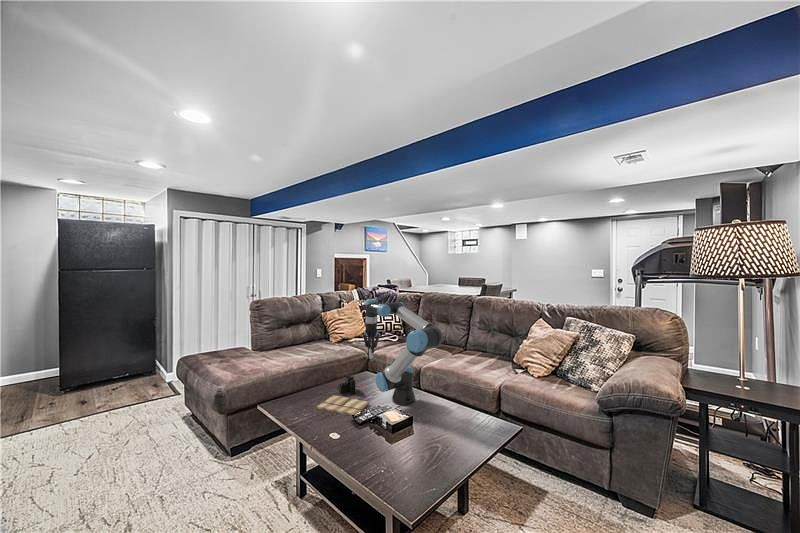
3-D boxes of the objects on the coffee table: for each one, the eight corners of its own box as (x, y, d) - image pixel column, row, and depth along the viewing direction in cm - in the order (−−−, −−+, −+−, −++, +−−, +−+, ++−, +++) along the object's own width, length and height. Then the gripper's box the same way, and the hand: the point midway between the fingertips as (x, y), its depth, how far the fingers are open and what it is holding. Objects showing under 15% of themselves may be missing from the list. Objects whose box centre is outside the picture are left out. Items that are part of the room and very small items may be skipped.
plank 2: (369, 403, 211) (369, 401, 211) (361, 411, 202) (361, 409, 202) (351, 400, 216) (351, 398, 216) (343, 407, 207) (343, 405, 206)
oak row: (361, 412, 200) (361, 410, 200) (356, 416, 195) (356, 414, 195) (322, 404, 211) (322, 402, 211) (316, 408, 205) (316, 406, 205)
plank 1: (349, 399, 216) (349, 398, 216) (341, 407, 207) (341, 405, 207) (333, 396, 221) (333, 395, 221) (324, 403, 212) (324, 401, 212)
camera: (335, 389, 236) (335, 375, 236) (350, 386, 241) (350, 373, 241) (341, 396, 224) (341, 381, 224) (356, 393, 229) (356, 379, 228)
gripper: (382, 322, 223) (382, 357, 223) (365, 320, 228) (364, 355, 228) (377, 324, 216) (377, 360, 216) (359, 322, 221) (359, 358, 221)
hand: (371, 357), depth 222 cm, fingers closed
